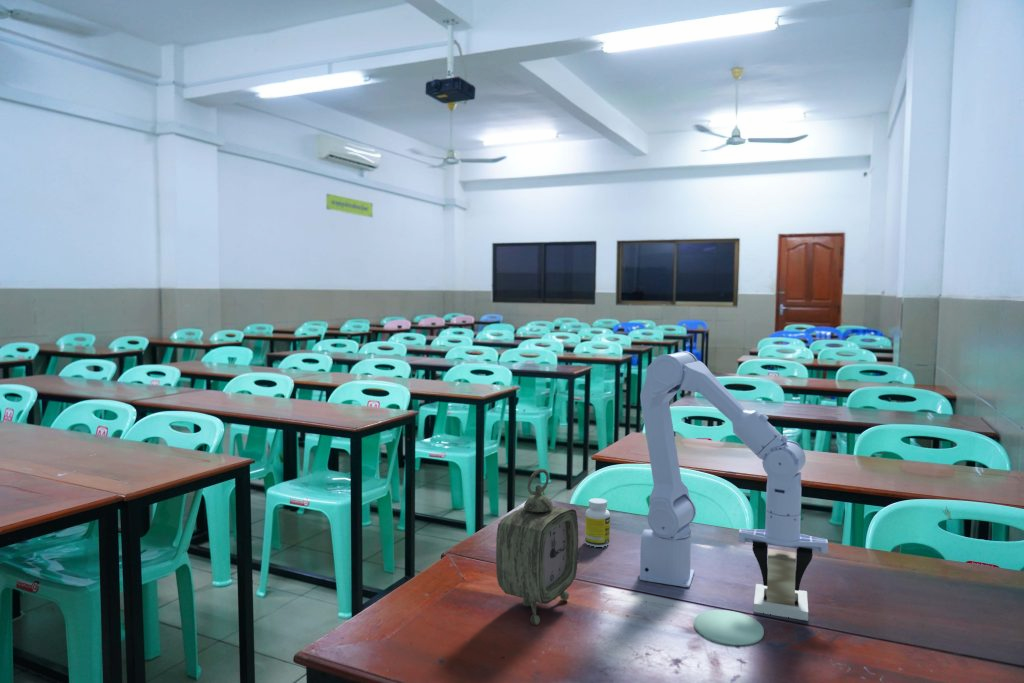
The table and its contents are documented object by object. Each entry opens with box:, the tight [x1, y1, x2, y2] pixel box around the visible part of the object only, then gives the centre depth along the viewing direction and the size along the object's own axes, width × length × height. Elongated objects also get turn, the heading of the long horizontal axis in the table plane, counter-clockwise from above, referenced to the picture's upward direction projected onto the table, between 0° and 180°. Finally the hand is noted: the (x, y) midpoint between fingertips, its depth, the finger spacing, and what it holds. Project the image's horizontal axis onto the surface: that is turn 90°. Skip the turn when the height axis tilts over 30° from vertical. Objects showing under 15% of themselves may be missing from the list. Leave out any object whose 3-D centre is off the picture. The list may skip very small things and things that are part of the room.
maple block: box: [766, 548, 797, 606], centre depth 121 cm, size 4×4×8 cm
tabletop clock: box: [495, 468, 579, 626], centre depth 119 cm, size 14×9×25 cm, turn 148°
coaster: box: [693, 609, 765, 646], centre depth 113 cm, size 11×11×1 cm
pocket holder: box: [753, 583, 809, 622], centre depth 121 cm, size 9×9×2 cm
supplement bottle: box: [584, 497, 611, 548], centre depth 151 cm, size 5×5×10 cm
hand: (781, 586), depth 121 cm, fingers closed on maple block, 4 cm apart
